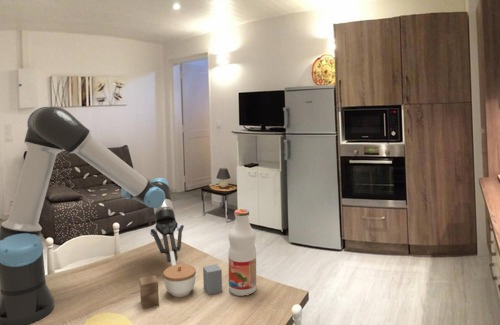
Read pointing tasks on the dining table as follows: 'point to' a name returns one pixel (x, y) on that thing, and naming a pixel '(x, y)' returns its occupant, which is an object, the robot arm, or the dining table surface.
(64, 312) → the dining table surface
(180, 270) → the lidded jar
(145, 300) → the walnut block
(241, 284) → the fruit juice
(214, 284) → the grey block
